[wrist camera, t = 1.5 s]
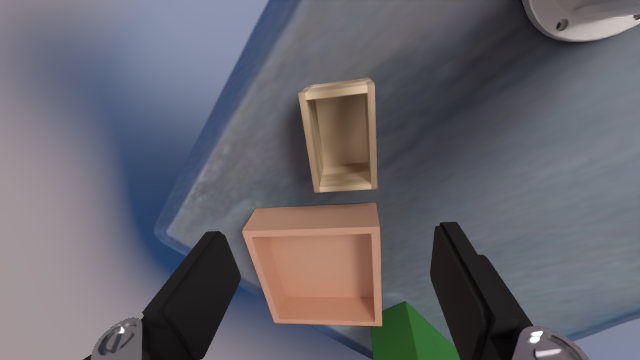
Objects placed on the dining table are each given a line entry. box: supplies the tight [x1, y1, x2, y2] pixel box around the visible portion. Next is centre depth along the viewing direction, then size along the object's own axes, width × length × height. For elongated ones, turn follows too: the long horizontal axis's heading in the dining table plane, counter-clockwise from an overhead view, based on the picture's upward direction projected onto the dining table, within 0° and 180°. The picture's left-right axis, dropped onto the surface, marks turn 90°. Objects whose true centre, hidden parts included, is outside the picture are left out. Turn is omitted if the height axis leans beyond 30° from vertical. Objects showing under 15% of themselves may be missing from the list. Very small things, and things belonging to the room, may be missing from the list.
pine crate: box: [298, 78, 377, 192], centre depth 25 cm, size 6×10×6 cm, turn 7°
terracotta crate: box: [242, 203, 382, 326], centre depth 35 cm, size 17×19×5 cm
